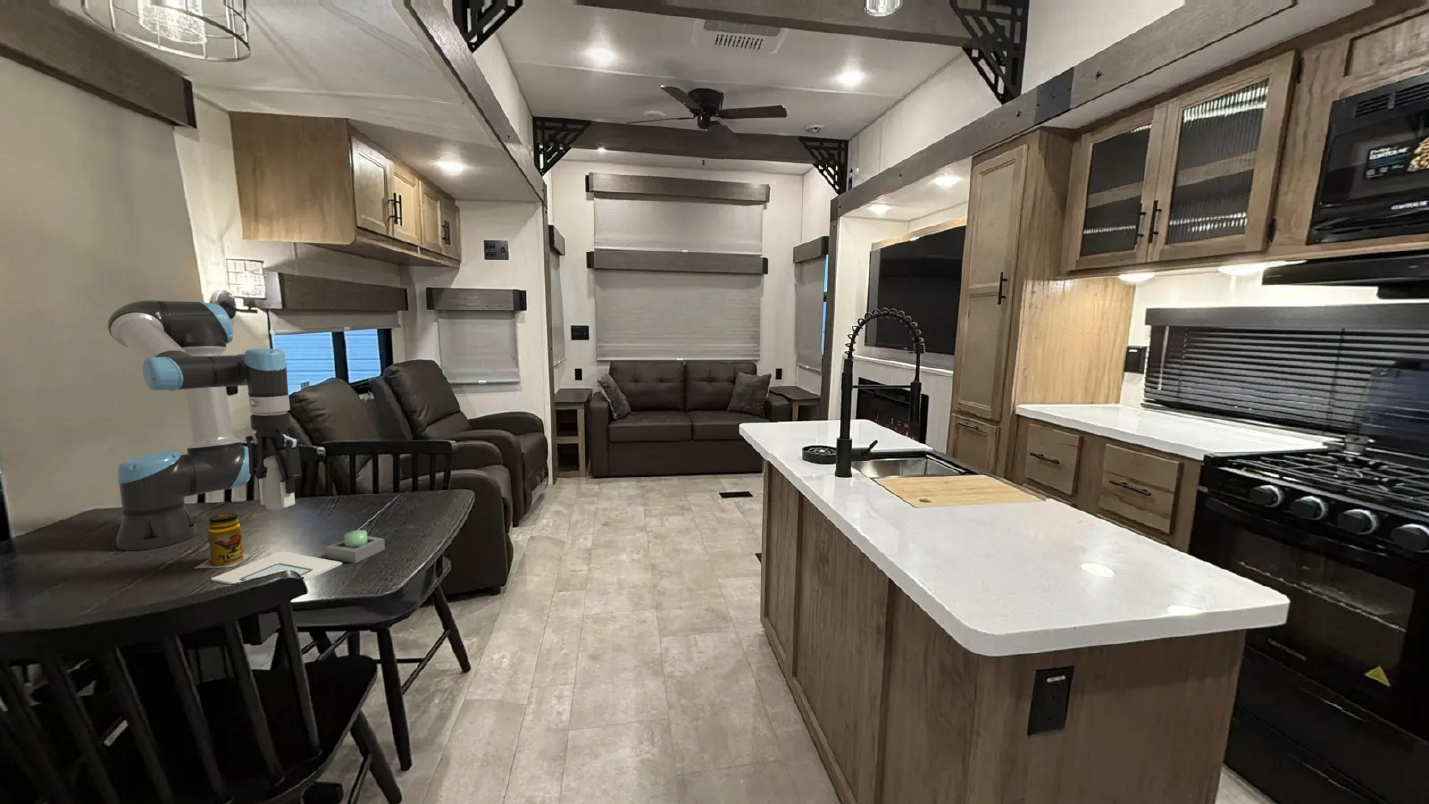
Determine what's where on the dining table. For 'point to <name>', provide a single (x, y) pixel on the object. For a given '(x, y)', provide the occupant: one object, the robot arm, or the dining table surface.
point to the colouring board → (279, 567)
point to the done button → (355, 539)
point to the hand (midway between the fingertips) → (278, 504)
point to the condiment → (224, 542)
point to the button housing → (355, 550)
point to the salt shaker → (272, 485)
